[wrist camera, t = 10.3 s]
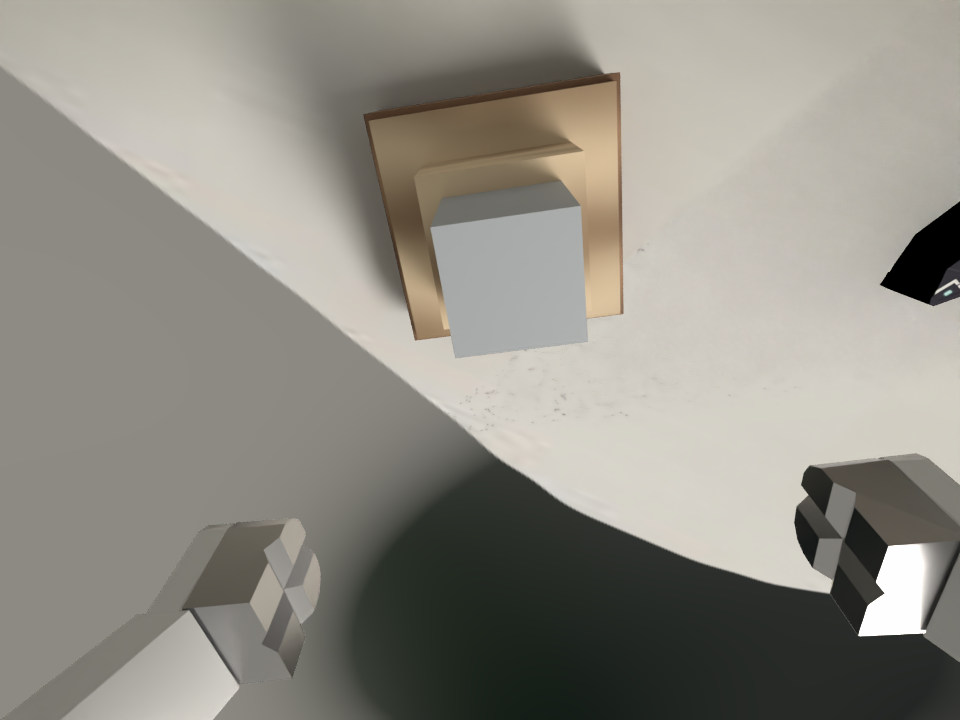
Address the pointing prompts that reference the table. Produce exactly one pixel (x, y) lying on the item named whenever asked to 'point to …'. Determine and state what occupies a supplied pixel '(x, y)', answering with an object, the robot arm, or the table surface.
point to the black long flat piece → (930, 262)
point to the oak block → (502, 174)
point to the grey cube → (512, 268)
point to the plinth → (491, 129)
